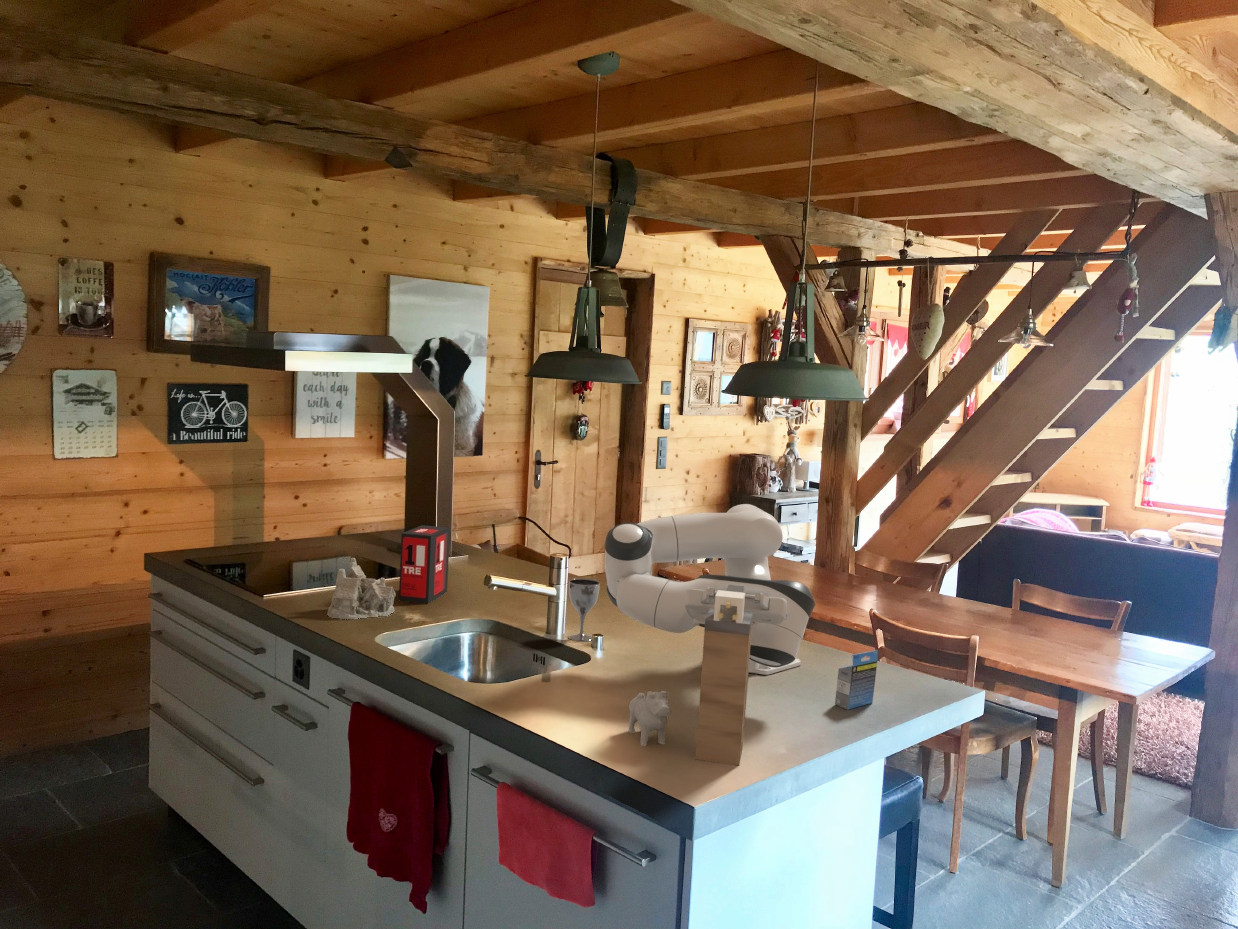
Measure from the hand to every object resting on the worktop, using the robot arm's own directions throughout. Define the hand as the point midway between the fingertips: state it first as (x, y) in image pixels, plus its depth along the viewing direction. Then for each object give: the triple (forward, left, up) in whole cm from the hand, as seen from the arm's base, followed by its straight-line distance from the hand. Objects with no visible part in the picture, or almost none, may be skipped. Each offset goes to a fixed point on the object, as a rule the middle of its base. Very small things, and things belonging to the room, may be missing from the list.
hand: (734, 594), depth 185 cm
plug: (+4, +4, -2) cm, 6 cm away
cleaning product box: (+12, -125, -28) cm, 129 cm away
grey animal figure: (+15, -4, -28) cm, 32 cm away
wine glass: (-9, -69, -28) cm, 76 cm away
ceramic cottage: (+35, -113, -28) cm, 121 cm away
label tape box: (-38, -1, -28) cm, 48 cm away
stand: (+7, +7, -28) cm, 30 cm away
